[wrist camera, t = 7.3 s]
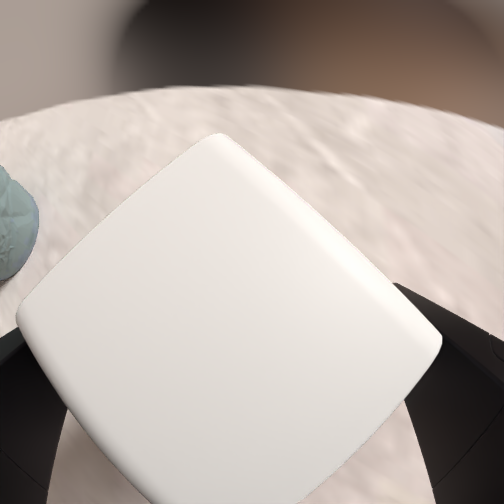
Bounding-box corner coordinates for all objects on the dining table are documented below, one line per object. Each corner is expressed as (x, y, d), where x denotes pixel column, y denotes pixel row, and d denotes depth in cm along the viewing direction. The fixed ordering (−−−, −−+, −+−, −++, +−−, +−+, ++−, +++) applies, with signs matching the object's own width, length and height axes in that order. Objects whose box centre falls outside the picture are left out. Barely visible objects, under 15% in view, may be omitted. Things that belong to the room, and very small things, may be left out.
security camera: (242, 259, 16) (225, 117, 6) (345, 361, 14) (480, 356, 5) (146, 347, 14) (1, 320, 5) (248, 454, 13) (238, 586, 3)
